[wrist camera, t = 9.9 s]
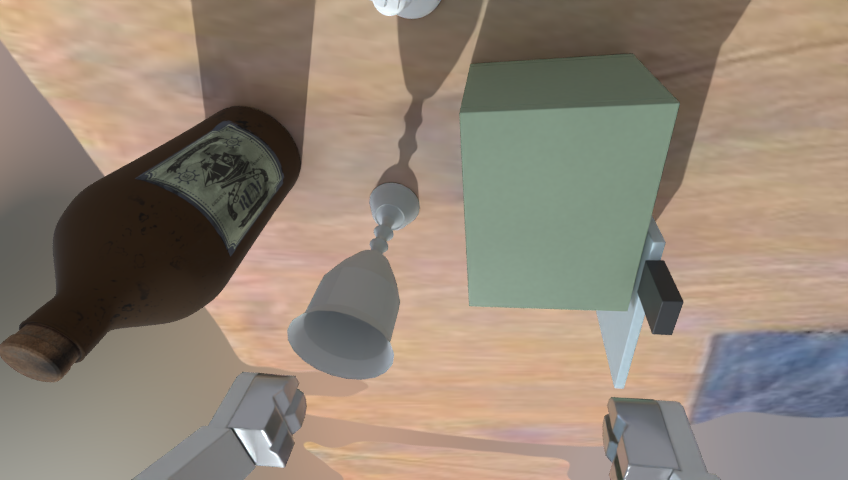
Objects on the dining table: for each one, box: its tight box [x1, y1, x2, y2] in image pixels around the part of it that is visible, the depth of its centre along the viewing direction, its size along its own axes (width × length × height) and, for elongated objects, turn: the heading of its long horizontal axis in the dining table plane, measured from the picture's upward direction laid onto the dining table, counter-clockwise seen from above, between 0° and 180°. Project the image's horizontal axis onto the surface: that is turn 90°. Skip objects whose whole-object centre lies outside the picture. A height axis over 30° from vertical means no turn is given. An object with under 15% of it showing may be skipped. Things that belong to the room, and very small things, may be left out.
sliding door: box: [596, 216, 683, 389], centre depth 36 cm, size 1×16×15 cm, turn 6°
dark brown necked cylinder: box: [0, 106, 300, 382], centre depth 32 cm, size 11×11×25 cm
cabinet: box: [459, 54, 680, 311], centre depth 33 cm, size 12×16×11 cm
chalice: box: [288, 183, 420, 380], centre depth 36 cm, size 7×7×18 cm
